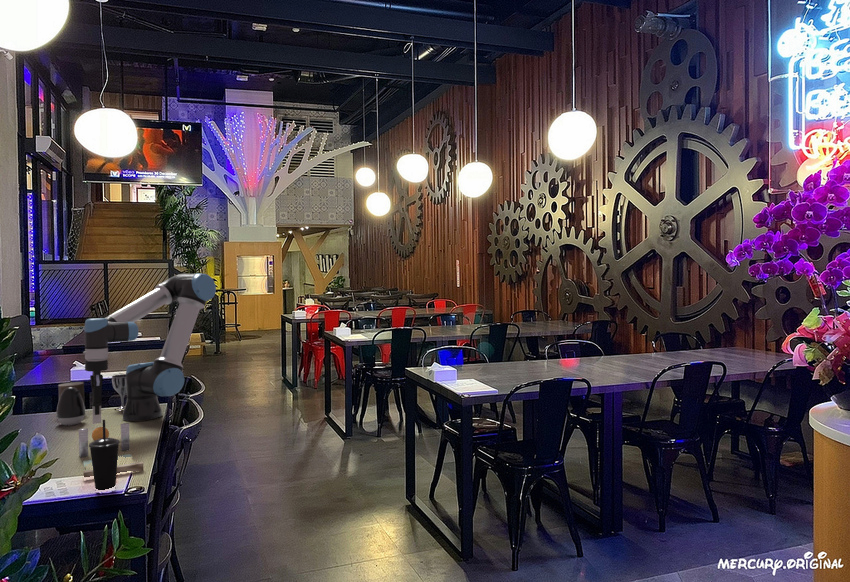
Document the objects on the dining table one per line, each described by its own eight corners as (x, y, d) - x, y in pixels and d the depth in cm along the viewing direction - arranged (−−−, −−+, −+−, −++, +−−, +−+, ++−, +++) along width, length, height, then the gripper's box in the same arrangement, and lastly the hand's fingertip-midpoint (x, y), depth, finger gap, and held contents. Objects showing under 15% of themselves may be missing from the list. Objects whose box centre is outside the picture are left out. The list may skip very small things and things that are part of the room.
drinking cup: (105, 485, 176) (103, 416, 176) (127, 487, 174) (125, 417, 173) (83, 494, 169) (81, 422, 168) (105, 497, 167) (104, 424, 166)
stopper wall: (142, 469, 190) (142, 461, 190) (143, 471, 189) (143, 463, 189) (83, 479, 182) (83, 470, 182) (83, 481, 180) (83, 472, 180)
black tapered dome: (70, 427, 244) (69, 389, 243) (50, 426, 247) (49, 388, 247) (91, 421, 254) (90, 385, 253) (72, 420, 257) (71, 384, 256)
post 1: (87, 454, 207) (87, 427, 207) (88, 456, 205) (87, 429, 205) (79, 455, 206) (78, 428, 206) (79, 457, 204) (78, 430, 203)
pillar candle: (88, 415, 266) (87, 380, 266) (63, 419, 259) (62, 383, 259) (80, 412, 273) (79, 378, 273) (55, 415, 266) (54, 381, 265)
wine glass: (134, 406, 283) (133, 373, 283) (129, 410, 275) (128, 376, 275) (116, 407, 282) (115, 374, 281) (110, 411, 274) (109, 377, 273)
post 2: (129, 448, 214) (128, 422, 214) (130, 450, 212) (129, 424, 212) (120, 449, 213) (120, 423, 212) (121, 451, 210) (121, 425, 210)
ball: (108, 439, 226) (108, 424, 226) (110, 442, 221) (109, 427, 221) (91, 441, 223) (91, 426, 223) (92, 445, 218) (92, 429, 218)
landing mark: (130, 454, 207) (130, 453, 207) (136, 465, 195) (136, 464, 195) (82, 461, 199) (82, 461, 199) (85, 473, 187) (85, 472, 187)
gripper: (83, 358, 233) (84, 420, 233) (86, 362, 222) (86, 427, 222) (106, 357, 237) (106, 418, 237) (109, 361, 226) (109, 425, 226)
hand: (96, 422), depth 230 cm, fingers closed
